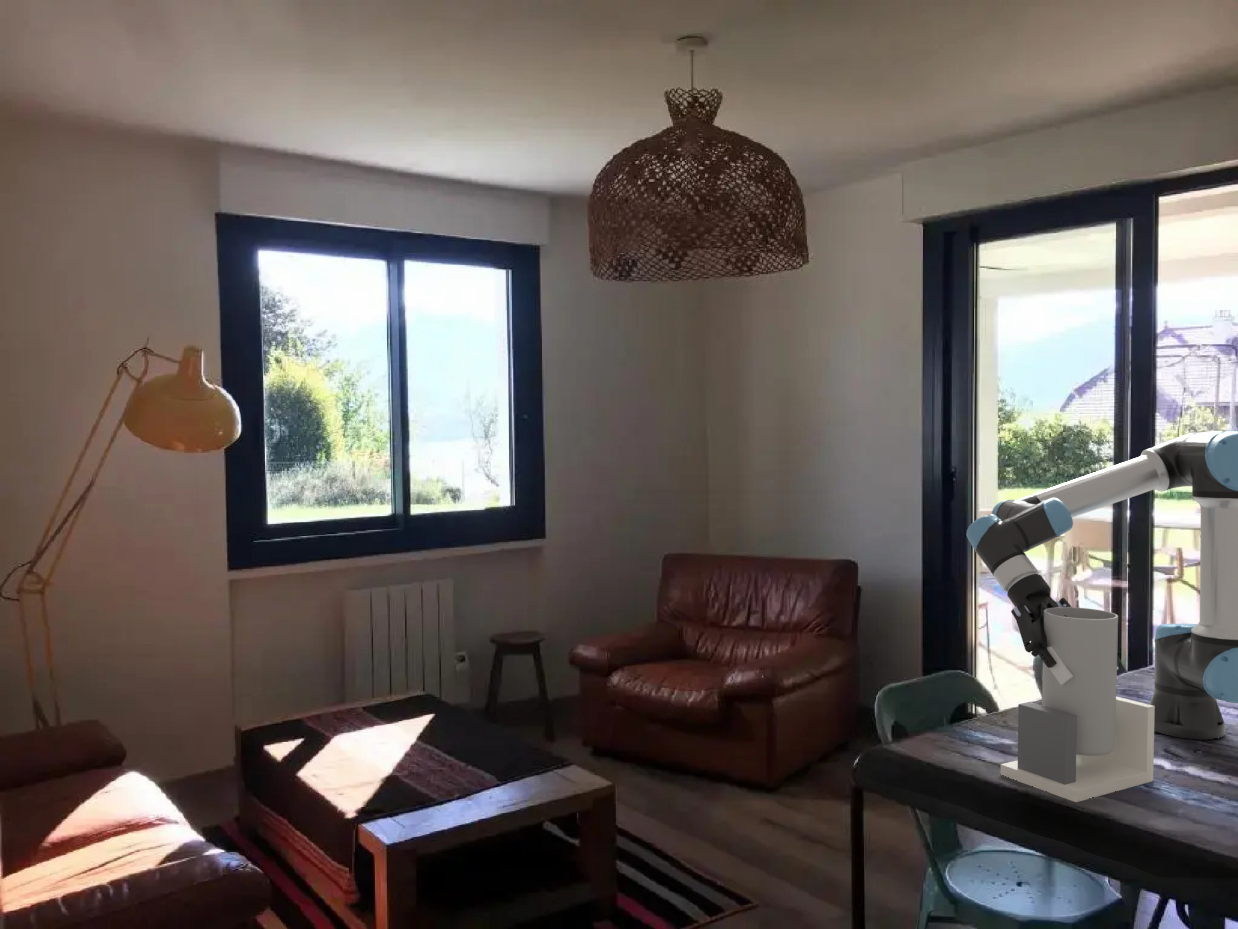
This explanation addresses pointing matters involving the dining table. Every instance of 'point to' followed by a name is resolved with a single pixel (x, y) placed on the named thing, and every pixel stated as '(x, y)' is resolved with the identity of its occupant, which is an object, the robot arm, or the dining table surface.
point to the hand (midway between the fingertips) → (1090, 677)
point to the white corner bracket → (1081, 777)
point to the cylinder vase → (1084, 673)
